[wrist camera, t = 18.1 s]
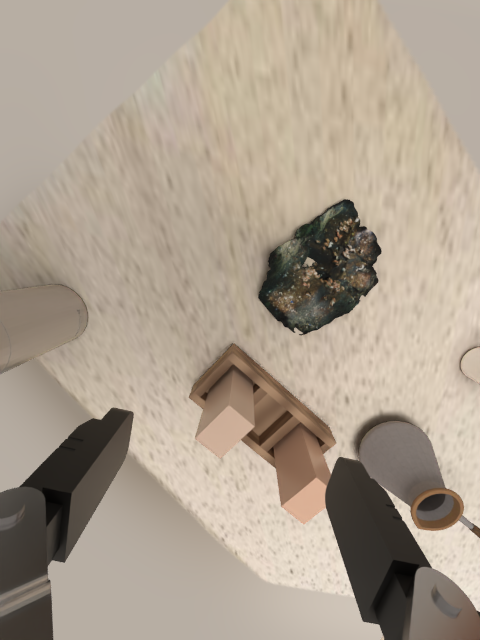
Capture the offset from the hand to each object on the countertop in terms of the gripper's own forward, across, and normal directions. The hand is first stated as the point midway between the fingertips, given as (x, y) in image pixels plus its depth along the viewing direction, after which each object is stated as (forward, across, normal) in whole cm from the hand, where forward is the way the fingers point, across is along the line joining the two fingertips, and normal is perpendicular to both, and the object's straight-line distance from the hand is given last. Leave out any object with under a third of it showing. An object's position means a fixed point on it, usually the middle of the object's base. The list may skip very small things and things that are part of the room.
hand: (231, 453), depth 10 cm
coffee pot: (+32, -34, +19) cm, 51 cm away
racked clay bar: (+30, -1, +13) cm, 33 cm away
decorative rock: (+32, -10, -8) cm, 35 cm away
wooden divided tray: (+32, -7, +16) cm, 36 cm away
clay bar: (+30, -14, +20) cm, 38 cm away
